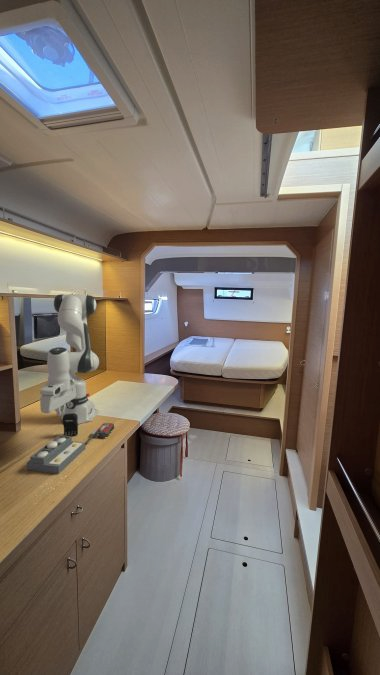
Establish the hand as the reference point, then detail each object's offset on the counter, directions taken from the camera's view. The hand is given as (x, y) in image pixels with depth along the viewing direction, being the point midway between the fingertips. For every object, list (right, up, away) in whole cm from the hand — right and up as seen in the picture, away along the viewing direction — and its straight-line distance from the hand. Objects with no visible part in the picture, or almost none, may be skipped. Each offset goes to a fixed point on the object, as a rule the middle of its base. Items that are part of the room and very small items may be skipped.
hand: (60, 414), depth 121 cm
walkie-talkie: (+13, -16, +17) cm, 26 cm away
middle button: (-1, -13, -5) cm, 14 cm away
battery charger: (-2, -15, +16) cm, 22 cm away
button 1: (-2, -15, -11) cm, 18 cm away
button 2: (0, -14, +1) cm, 14 cm away
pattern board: (+1, -18, -5) cm, 18 cm away
